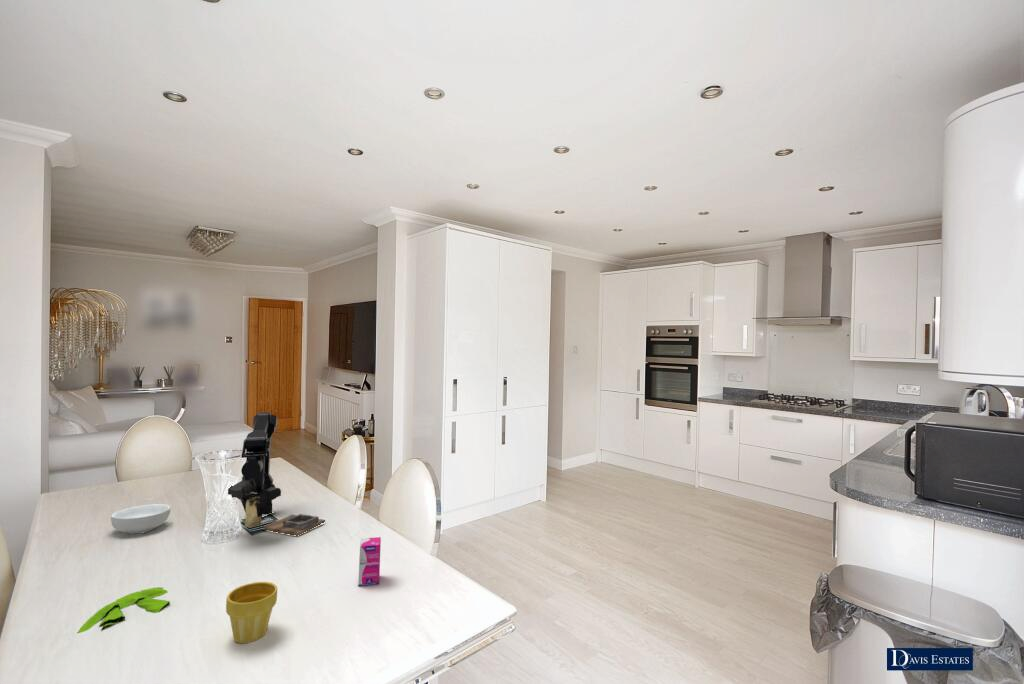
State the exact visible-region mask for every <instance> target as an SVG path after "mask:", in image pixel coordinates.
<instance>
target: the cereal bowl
mask: <svg viewBox="0 0 1024 684" xmlns="http://www.w3.org/2000/svg"><path fill="white" fill-rule="evenodd" d="M170 513H171V505H168V504H165V503H164V504H163V503H153V504H141V505H136V506H132V507H128V508H127V507H126V508H124V509H120V510H117V511H115V512H113V513H112V514H111V517H110V521H111V526H112V527H113V528H114V530H116V531H119V532H123V533H126V532H127V533H126V534H128V533H131V534H130V535H136V534H135V533H139V534H143V533H142V532H145V533H148V532H150V530H151V531H152V529H153V530H154V529H155V528H158V527H159V526H161V525H162V524H164V523H165V522H166V521H167V520H168V519H169V516H170ZM147 531H148V532H147Z"/></svg>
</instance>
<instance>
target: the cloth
mask: <svg viewBox="0 0 1024 684" xmlns="http://www.w3.org/2000/svg"><path fill="white" fill-rule="evenodd" d="M168 593H169V592H168V590H166V589H164V587H159V586H158V587H152V588H151V587H150V588H147V589H141V590H140V591H135V592H131V593H129V594H126V595H124V596H122V597H120V598H117V599H116V600H115V601H113V602H111V603H108V604H106V605H105V606H103V607H102V608H100V609H99V610H97V611H96V612H95V613H94V614H93V615H92V616H91V617H90V618H88V619H87V620H86V621H85V622H84V624H83V625H82V626H81V627H80V628H79V630H78V631H77V632H76V634H81V633H84V632H86V631H89V630H90V629H91V628H93V626H95V625H97V624H98V623H99V622H100V621H101V620H102V619H103V620H102V621H101V622H100V623H99V626H98V627H99V628H100V627H101V626H102V625H103V624H104V623H105V622H106V623H105V624H104V625H103V626H102V628H101V629H100V631H101V632H103V629H105V627H107V626H113V625H114V626H115V625H118V624H120V623H123V622H124V621H125V619H126V616H125V615H124V613H123V611H122V609H125V608H128V607H130V606H131V607H132V606H133V605H134V604H135V605H136V607H138V608H141V609H142V610H144V611H146V612H148V613H152V614H155V613H156V614H157V613H159V612H160V611H161V610H163V609H164V608H166V607H167V606H169V605H171V601H170V600H165V599H156V598H157V597H160V596H163V595H165V594H168Z"/></svg>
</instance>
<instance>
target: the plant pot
mask: <svg viewBox="0 0 1024 684" xmlns="http://www.w3.org/2000/svg"><path fill="white" fill-rule="evenodd" d="M277 599H278V586H277V585H276V584H275V583H273V582H269V581H255V582H250V583H245V584H243V585H240V586H237V587H235V588H234V589H232V590H231V591H230V592H229V593H228V594H227V595H226V604H225V612H226V615H228V616H229V619H230V626H231V632H232V637H233V640H234V641H235V642H236V643H238V644H246V643H247V644H249V643H252V642H255V641H258V640H259V639H261V638H262V637H264V636H265V635H266V634H267V630H268V627H269V622H270V619H271V614H272V611H273V608H274V607H275V605H276V604H277Z"/></svg>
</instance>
